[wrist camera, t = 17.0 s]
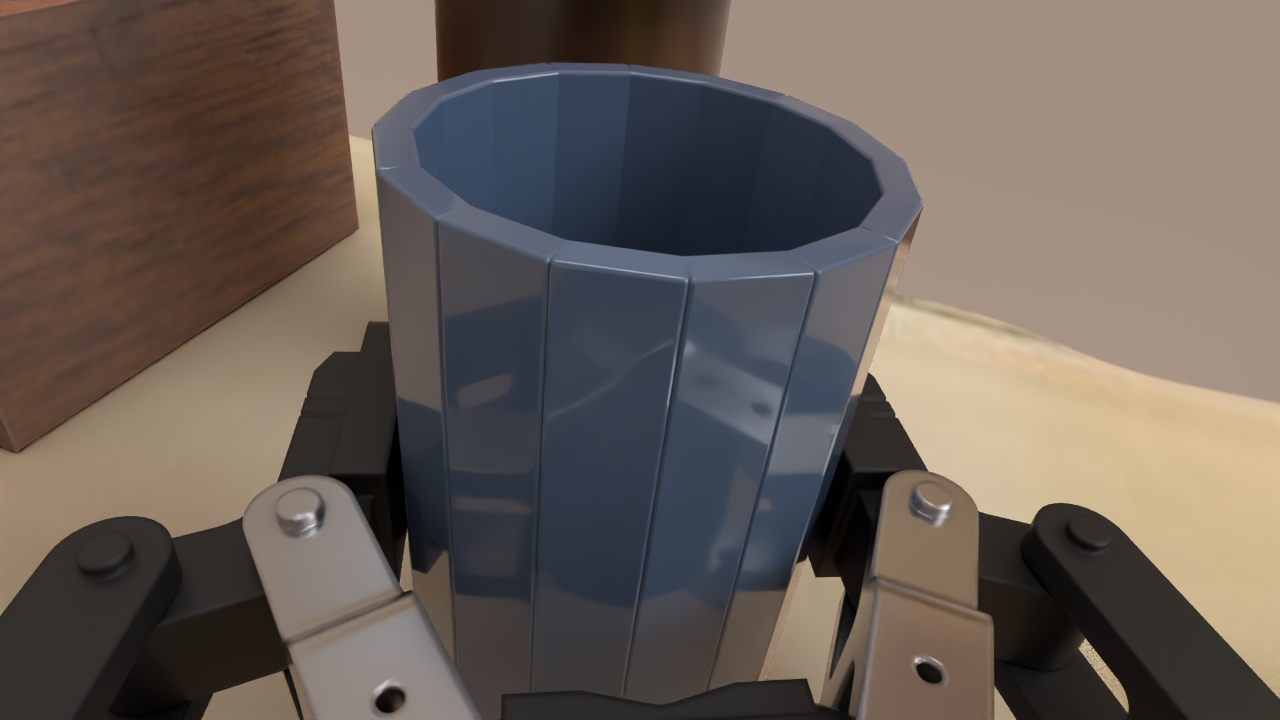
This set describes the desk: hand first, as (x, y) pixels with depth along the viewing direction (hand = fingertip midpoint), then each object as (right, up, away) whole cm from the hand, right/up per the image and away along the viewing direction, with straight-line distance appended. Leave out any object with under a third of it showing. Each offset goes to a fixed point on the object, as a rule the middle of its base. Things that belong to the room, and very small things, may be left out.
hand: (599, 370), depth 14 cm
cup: (0, -7, +2) cm, 7 cm away
